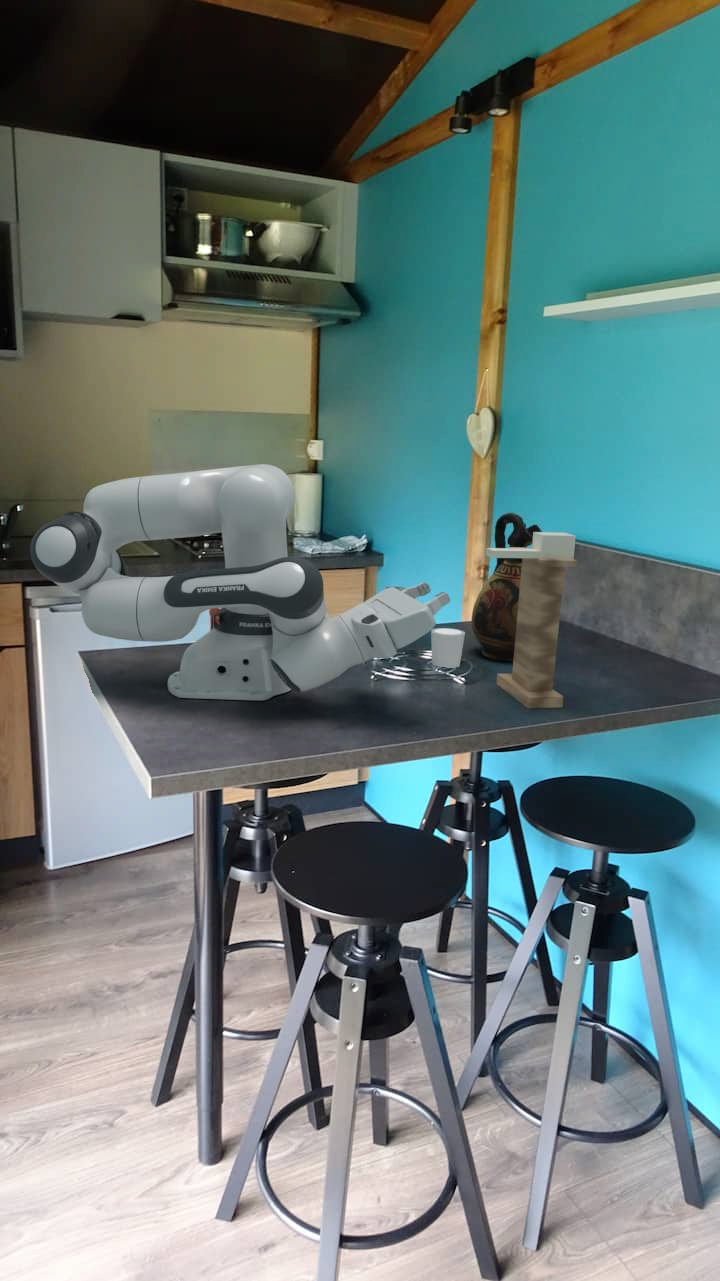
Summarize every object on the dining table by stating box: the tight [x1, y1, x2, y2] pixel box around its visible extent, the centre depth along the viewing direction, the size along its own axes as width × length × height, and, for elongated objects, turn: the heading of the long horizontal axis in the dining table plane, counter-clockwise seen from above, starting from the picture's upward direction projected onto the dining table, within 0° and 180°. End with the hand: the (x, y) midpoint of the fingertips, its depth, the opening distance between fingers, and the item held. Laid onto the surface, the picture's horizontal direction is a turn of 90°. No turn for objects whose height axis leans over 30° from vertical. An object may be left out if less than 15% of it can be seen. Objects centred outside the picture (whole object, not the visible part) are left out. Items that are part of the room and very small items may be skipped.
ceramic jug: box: [471, 512, 543, 663], centre depth 194 cm, size 17×15×30 cm
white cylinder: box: [430, 627, 466, 669], centre depth 186 cm, size 7×7×7 cm
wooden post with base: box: [496, 546, 578, 709], centre depth 166 cm, size 6×15×26 cm, turn 13°
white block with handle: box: [485, 531, 577, 560], centre depth 158 cm, size 14×4×4 cm, turn 103°
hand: (437, 591), depth 155 cm, fingers open, 8 cm apart
